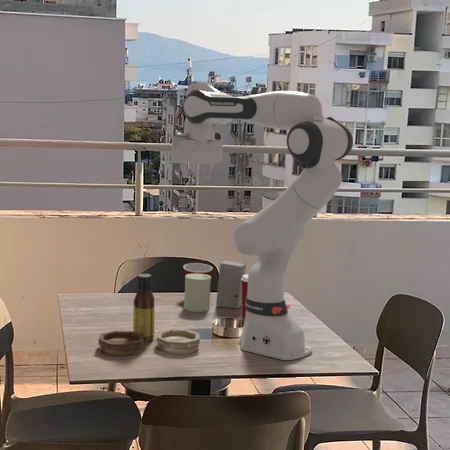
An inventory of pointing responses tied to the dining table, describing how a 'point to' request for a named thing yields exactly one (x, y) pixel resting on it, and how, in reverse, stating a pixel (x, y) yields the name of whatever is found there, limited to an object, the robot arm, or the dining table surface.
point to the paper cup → (244, 292)
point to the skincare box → (230, 284)
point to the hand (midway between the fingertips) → (196, 177)
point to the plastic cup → (197, 268)
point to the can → (197, 292)
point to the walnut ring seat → (121, 343)
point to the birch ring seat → (178, 341)
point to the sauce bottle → (144, 308)
